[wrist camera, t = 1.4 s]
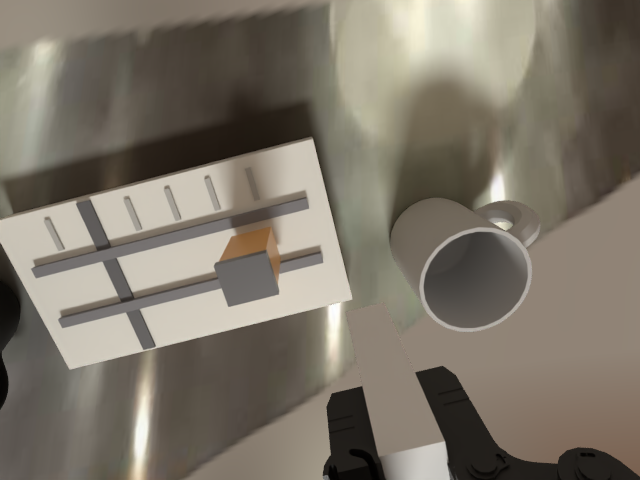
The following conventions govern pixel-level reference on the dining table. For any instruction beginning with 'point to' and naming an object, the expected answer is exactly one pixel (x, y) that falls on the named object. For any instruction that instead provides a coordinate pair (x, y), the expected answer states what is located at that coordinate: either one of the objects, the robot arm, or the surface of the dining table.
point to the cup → (466, 259)
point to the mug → (6, 331)
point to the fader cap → (249, 267)
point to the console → (175, 253)
